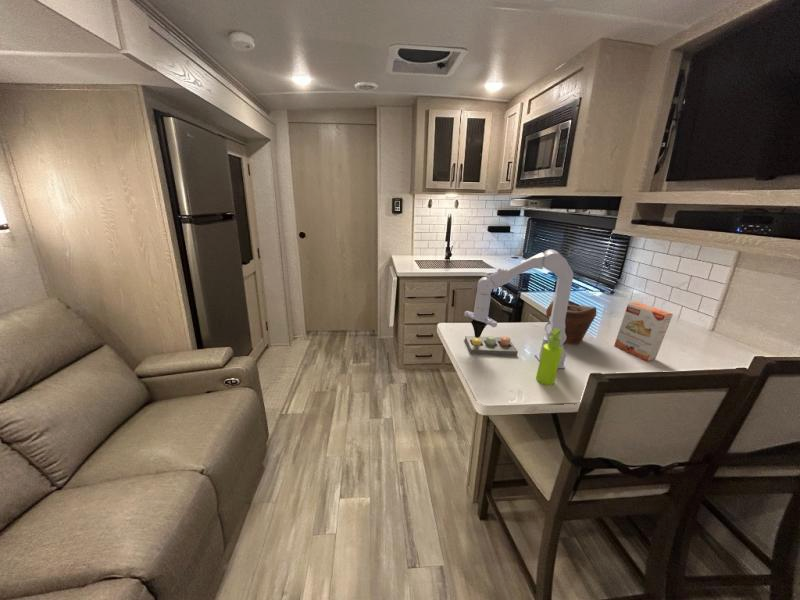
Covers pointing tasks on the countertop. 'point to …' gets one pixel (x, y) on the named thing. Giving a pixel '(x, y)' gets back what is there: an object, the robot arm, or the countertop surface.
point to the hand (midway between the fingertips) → (477, 336)
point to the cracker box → (642, 330)
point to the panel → (490, 347)
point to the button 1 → (476, 341)
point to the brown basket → (576, 321)
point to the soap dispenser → (550, 359)
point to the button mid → (490, 341)
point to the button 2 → (505, 341)
